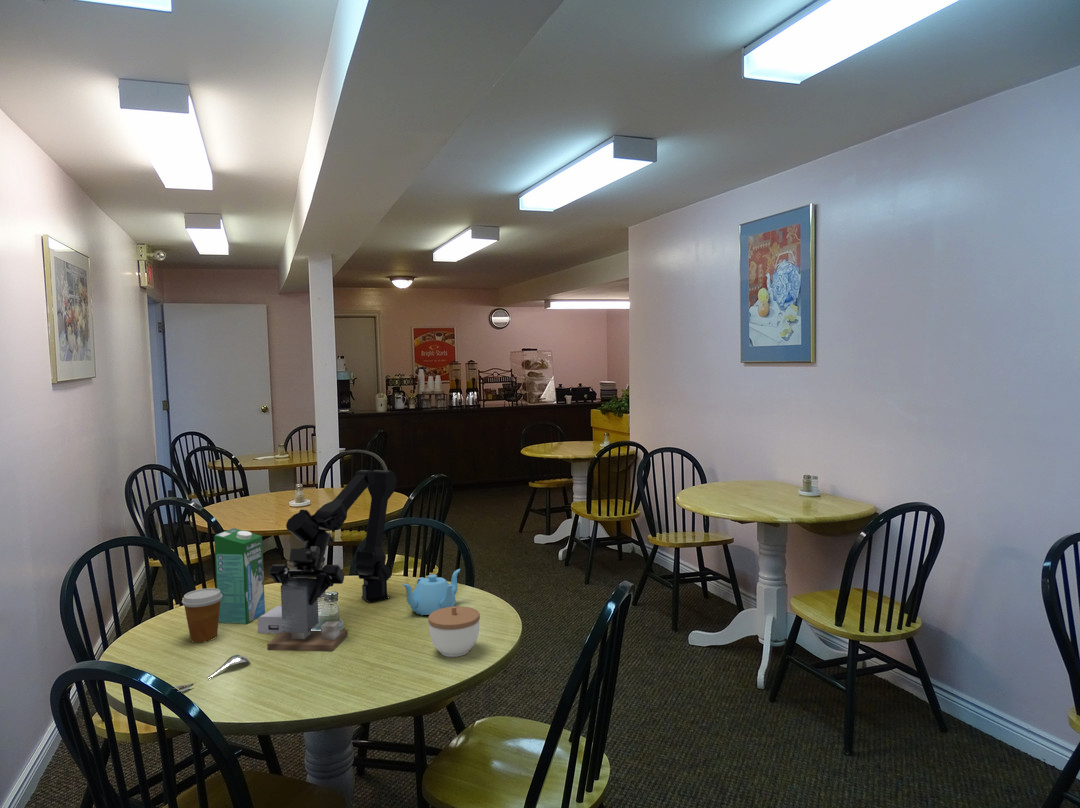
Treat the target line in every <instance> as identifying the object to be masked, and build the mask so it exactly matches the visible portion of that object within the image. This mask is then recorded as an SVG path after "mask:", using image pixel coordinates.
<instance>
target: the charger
mask: <svg viewBox="0 0 1080 808" xmlns="http://www.w3.org/2000/svg"><path fill="white" fill-rule="evenodd" d="M257 632H258V633H259V634H268V633H272V635H273V634H274V635H279V634H280V633H281V632H283V629H282V607H281V605H276V606H275V607H274V608H272V609H270V610H269V611H267V612H265V613H264V614H262V615H260V616H259V617H257Z"/></svg>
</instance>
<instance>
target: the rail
mask: <svg viewBox="0 0 1080 808" xmlns="http://www.w3.org/2000/svg"><path fill="white" fill-rule="evenodd" d="M340 625H341V624H340V621H336V620H335V621H334V620H327V621H325V622H324V623H323V624H321V627H320V629H321V631H311V630H310V631H309V632H308V633H283V632H281V633H280V634H277V635H276V636H275V637H274V638H273V639H272V640H270V641H268V643H267V644H266V645H267V646H266V647H267V651H268V650H269V651H303V652H304V651H306V652H307V651H309V652H315V651H317V652H318V651H319V652H320V651H321V652H333V651H335V649H337V647H338V646H340V644H341V643H342V642H343V641H344V640H346V638H347V637H348V636H349V631H348V629H341V628H340ZM347 635H348V636H347Z"/></svg>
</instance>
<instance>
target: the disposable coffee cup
mask: <svg viewBox="0 0 1080 808" xmlns="http://www.w3.org/2000/svg"><path fill="white" fill-rule="evenodd" d="M221 598H222V594H221V592H220V590H219V589H217V588H215V587H214V588H212V587H211V588H200V589H196V590H192V591H188V592H187V593H185V594H184V595H183V599H182V600H181V603H182V605H183V606H184V611H185V616H186V622H187V627H188V632H189V638H190V642H192V641H193V642H192V643H195V642H202V643H205V642H204V641H207V642H210V641H212V640H211V639H213V638H215V637H216V638H217V637H218V633H219V630H218V629H219V623H218V622H219V612H220V601H221ZM216 638H215V639H216ZM209 640H210V641H209ZM213 640H214V639H213Z"/></svg>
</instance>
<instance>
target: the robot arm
mask: <svg viewBox="0 0 1080 808" xmlns="http://www.w3.org/2000/svg"><path fill="white" fill-rule="evenodd" d="M397 480H398V479H397V475H396V473H395V472H394V471H392V470H380V469H374V470H368V469H367V470H365V469H360V470H357V471H356V472H355V473H354V476H353V477H352V478H351V480H350V481H349V482H348V483H347V484H346V486H345V487H344V488H343V489H342V490H341V491H340V493H338V495H337V496H336V497H335V498H334V499H333V500H332V501H329V502H327V503H325V504H323V505H322V506H321V507H319V508H318V509H317V510H316V511H315V513H314V514H311V513H310V511H308V510H307V509H299V512H297V513H295V514H293V515H292V516H290V518H288V520H287V521H286V525H285V526H286V530H287V531H289V532H290V533H291V534H292V535H293V536H294V537H295V538H296V539H298V540H299V541H300V542H305V543H304V545H303V546H304V547H301V548H291V549H290V553H289V560H288V561H289V562H293V566H294V568H296V569H290V567H288V565H287V564H284V563H283V564H282V563H281V564H272V565H271V566H270V567H269V570H268V573H267V574H268V575H269V576H270V578H271V579H272V580H273V582H275V583H276V584H281V585H283V584H284V583H286V582H287V581H289V580H290V579H292V578H316V583H315V586H314V589H313V592H312V595H311V598H310V603H309V604H310V605H313V604H314V602H315V601H316V600H317V599H319V598H321V596H322V595H323V594H324V593H325V592H326V591H327V590H328V589H329V588H330V587H334V585H342V584H343V583H344V580H345V573H344V571H343V570H342V569H341V566H340V565H339V564H325V565H323V567H322V564H323V563H325V561H326V558H325V553H326V549H327V546H328V544H332V543H333V544H334V538H333V536H332V534H331V533H330V532H327V531H339V530H341V528H342V526H343V525H344V523H345V521H346V520H347V517H348V512H349V510H350V508H351V507H352V506H353V505H354V504H355V502H356V501H357V500H358V499H359V498H360V496H361V495H362V493H364V492H365V491H366V489H367V490H368V492H369V495H370V498H371V501H370V508H369V514H368V522H367V528H366V535H365V543H364V546H363V547H362V548H361V550H357V551H356V554H355V555H356V557H355V561H354V565H355V571H356V572H357V575H358V578H359V579H360V580H363V584H361V586H362V587H361V589H362V590H361V591H362V594H361V595H362V596H361V599H363V598H364V599H363V600H365V599H366V600H365V601H367V600H368V601H369V603H370V602H371V603H374V602H373V601H376V602H378V601H377V600H380V601H382V600H381V599H384V598H387V599H389V598H388V597H391V596H390V595H388V584H387V583H388V582H387V581H388V580H389V579H391V577H392V570H391V568H389V566H388V565H387V564H386V554H385V552H384V550H383V540H384V539H383V538H384V529H385V524H386V517H387V516H386V515H387V508H388V501H389V499H390V498H391V496H392V495H393V494H394V492H395V489H396V485H397ZM321 567H322V569H321ZM384 600H385V599H384ZM368 601H367V602H368Z"/></svg>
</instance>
